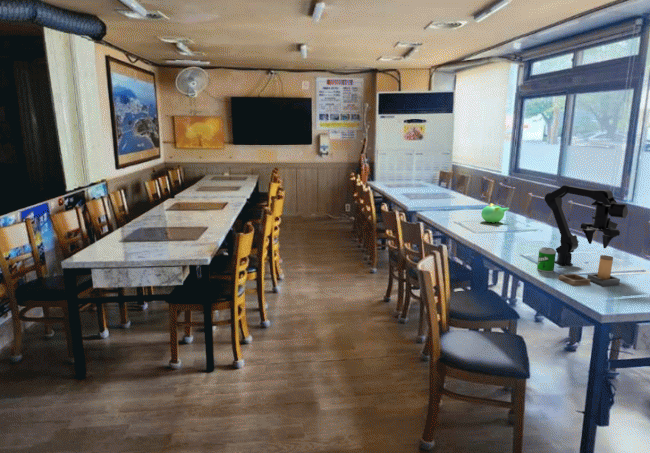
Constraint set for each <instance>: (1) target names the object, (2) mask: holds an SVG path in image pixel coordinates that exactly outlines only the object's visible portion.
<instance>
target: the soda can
mask: <svg viewBox="0 0 650 453" xmlns="http://www.w3.org/2000/svg"><path fill="white" fill-rule="evenodd" d="M556 254H557V252H556V249H554V248H552V247H541V248H540V249H539V250H538V257H537V258H538V259H537V264H536V265H537V267H536V270H537V271H539V272H542V273H553V272H554V271H555V261H556V257H557V256H556Z"/></svg>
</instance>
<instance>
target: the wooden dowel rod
mask: <svg viewBox="0 0 650 453" xmlns="http://www.w3.org/2000/svg"><path fill="white" fill-rule="evenodd" d="M613 261H614V256H611V255H607V254H605V255H604V254H602V255H600V256H599V263H598V268H597V274H598V275H597V277H598V278H601V279H603V280H604V279H610V276H612V275H611V274H612V268H613V263H614V262H613Z"/></svg>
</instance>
